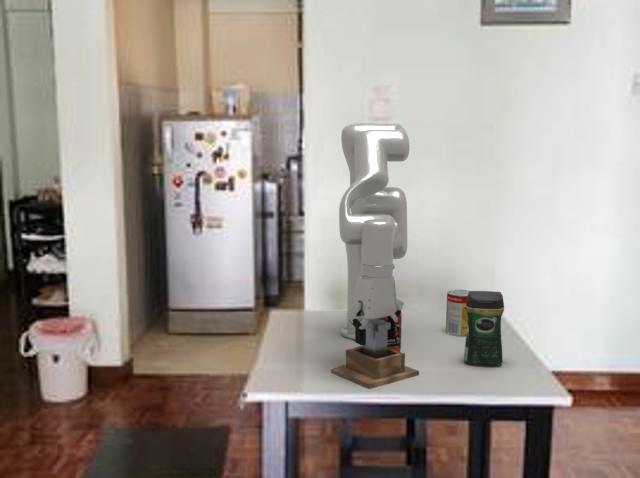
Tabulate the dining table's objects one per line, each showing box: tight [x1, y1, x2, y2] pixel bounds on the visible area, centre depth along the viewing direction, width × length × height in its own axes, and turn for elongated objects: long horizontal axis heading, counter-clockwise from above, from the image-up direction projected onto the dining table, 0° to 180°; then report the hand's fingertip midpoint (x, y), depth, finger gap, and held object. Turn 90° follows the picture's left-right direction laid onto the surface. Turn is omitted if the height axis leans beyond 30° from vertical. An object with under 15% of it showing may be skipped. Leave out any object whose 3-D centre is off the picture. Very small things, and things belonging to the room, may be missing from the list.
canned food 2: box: [445, 288, 470, 337], centre depth 216 cm, size 8×8×12 cm
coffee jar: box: [463, 290, 505, 367], centre depth 189 cm, size 10×8×19 cm
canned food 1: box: [379, 312, 403, 352], centre depth 199 cm, size 8×8×11 cm
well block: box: [330, 345, 420, 390], centre depth 181 cm, size 16×14×6 cm
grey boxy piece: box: [361, 319, 391, 359], centre depth 180 cm, size 4×6×12 cm, turn 39°
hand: (375, 340), depth 180 cm, fingers open, 9 cm apart
